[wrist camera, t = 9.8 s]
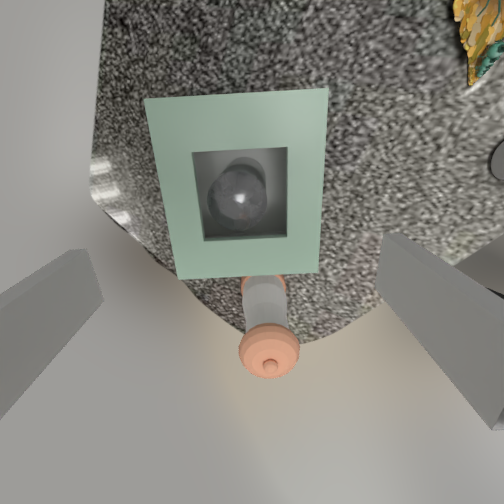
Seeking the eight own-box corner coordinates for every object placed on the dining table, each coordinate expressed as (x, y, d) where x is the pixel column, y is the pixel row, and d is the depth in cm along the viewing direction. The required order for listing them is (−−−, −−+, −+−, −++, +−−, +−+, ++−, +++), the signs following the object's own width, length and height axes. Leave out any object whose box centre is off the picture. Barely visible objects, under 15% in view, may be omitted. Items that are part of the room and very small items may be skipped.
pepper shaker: (244, 257, 43) (241, 339, 26) (287, 263, 44) (313, 348, 26) (238, 293, 46) (231, 390, 28) (278, 299, 47) (296, 397, 29)
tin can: (222, 156, 36) (204, 171, 25) (266, 156, 35) (267, 171, 25) (224, 200, 38) (209, 230, 28) (266, 200, 38) (266, 230, 27)
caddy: (179, 111, 34) (143, 98, 22) (301, 104, 34) (328, 88, 22) (198, 238, 42) (178, 279, 30) (298, 233, 41) (317, 272, 30)
